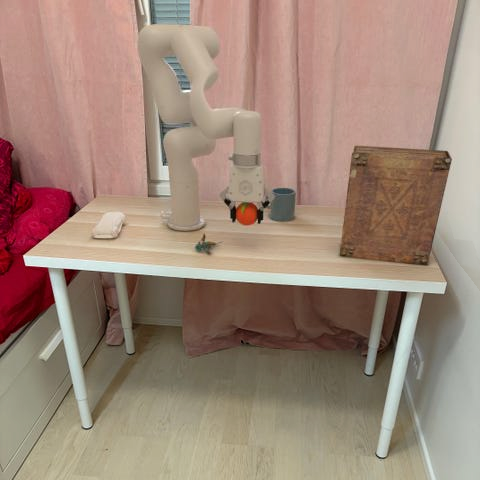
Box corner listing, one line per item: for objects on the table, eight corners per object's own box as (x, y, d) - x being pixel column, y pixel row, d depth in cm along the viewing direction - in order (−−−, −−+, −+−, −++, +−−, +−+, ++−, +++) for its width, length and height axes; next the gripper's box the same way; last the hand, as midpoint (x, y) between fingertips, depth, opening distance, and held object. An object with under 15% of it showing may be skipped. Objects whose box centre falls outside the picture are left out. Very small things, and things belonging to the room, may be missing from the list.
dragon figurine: (200, 238, 151) (190, 237, 144) (220, 231, 149) (212, 230, 142) (205, 258, 152) (196, 258, 144) (226, 251, 149) (218, 251, 142)
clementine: (253, 231, 138) (253, 207, 134) (230, 228, 140) (230, 204, 136) (261, 222, 144) (262, 199, 140) (240, 220, 146) (240, 197, 142)
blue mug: (298, 216, 173) (300, 190, 168) (285, 222, 168) (286, 196, 163) (272, 209, 180) (273, 184, 175) (258, 215, 174) (258, 189, 169)
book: (338, 255, 143) (351, 151, 127) (341, 244, 150) (353, 145, 135) (427, 265, 137) (452, 157, 121) (426, 253, 144) (448, 150, 129)
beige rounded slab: (116, 239, 153) (114, 226, 151) (91, 239, 153) (89, 226, 151) (128, 221, 169) (126, 208, 166) (105, 220, 169) (104, 208, 167)
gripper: (213, 161, 130) (215, 224, 139) (277, 164, 128) (274, 227, 137) (219, 155, 136) (220, 216, 146) (279, 158, 134) (277, 219, 143)
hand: (246, 221), depth 141 cm, fingers closed on clementine, 7 cm apart
